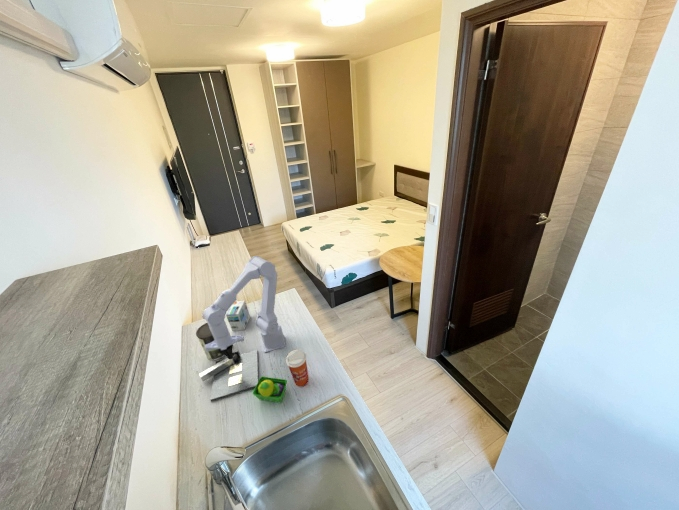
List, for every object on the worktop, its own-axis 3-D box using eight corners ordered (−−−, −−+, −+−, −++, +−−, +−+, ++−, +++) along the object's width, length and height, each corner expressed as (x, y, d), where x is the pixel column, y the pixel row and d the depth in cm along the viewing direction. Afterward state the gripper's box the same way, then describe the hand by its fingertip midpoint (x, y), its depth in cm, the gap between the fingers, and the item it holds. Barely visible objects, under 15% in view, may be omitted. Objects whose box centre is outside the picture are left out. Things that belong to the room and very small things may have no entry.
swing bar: (239, 360, 120) (237, 355, 118) (202, 381, 111) (200, 377, 110) (237, 357, 121) (235, 352, 119) (201, 378, 113) (199, 374, 111)
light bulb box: (244, 330, 138) (238, 313, 133) (231, 331, 138) (225, 314, 133) (250, 315, 147) (245, 300, 142) (238, 316, 148) (232, 300, 142)
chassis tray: (257, 351, 125) (255, 344, 122) (258, 387, 109) (255, 379, 106) (216, 363, 121) (213, 355, 119) (211, 401, 105) (207, 393, 103)
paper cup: (295, 392, 105) (289, 368, 98) (289, 377, 111) (282, 353, 104) (314, 383, 108) (309, 358, 101) (307, 369, 114) (301, 345, 107)
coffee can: (233, 343, 130) (225, 321, 124) (221, 361, 122) (211, 338, 115) (215, 342, 133) (205, 320, 126) (201, 359, 124) (190, 336, 117)
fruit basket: (290, 388, 107) (284, 368, 101) (281, 410, 99) (275, 390, 94) (263, 384, 109) (256, 365, 104) (253, 405, 102) (245, 386, 96)
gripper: (199, 345, 101) (211, 370, 108) (239, 335, 104) (248, 359, 110) (202, 332, 107) (213, 356, 114) (240, 323, 110) (249, 346, 116)
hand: (230, 357), depth 112 cm, fingers closed
